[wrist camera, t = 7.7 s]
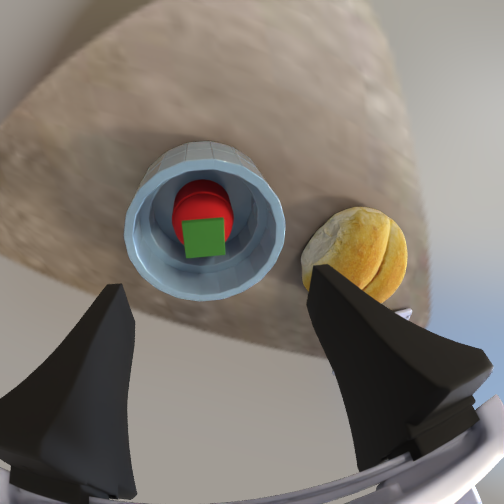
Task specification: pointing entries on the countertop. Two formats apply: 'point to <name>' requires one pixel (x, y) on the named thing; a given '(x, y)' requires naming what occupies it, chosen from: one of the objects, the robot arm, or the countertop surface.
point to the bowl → (236, 246)
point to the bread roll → (360, 251)
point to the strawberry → (202, 218)
